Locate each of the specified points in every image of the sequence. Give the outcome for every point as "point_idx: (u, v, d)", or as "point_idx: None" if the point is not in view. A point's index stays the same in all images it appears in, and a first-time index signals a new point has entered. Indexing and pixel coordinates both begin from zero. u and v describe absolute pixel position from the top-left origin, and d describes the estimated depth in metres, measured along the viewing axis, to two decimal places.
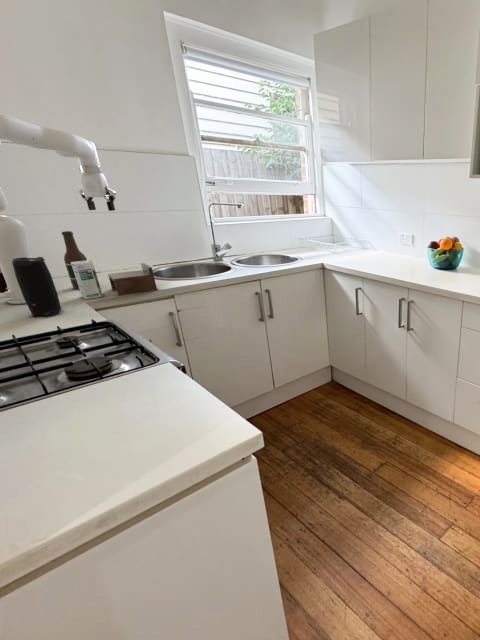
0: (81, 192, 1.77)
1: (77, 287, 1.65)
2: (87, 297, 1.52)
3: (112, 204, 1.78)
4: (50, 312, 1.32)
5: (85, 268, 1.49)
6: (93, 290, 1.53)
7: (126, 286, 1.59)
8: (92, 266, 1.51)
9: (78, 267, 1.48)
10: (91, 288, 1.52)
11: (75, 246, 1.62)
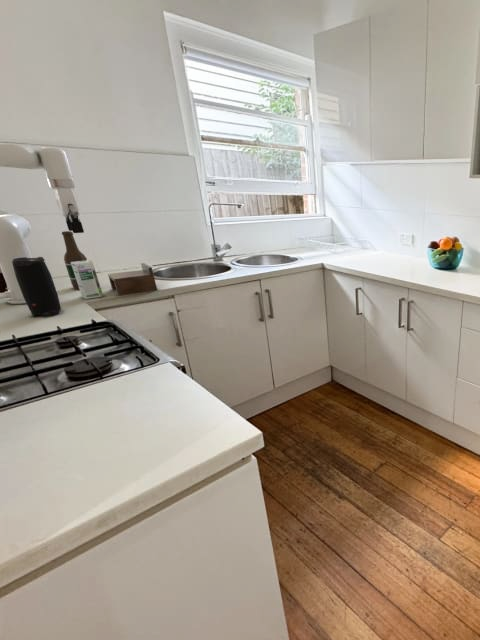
0: None
1: (77, 287, 1.65)
2: (87, 297, 1.52)
3: (77, 225, 1.44)
4: (50, 312, 1.32)
5: (85, 268, 1.49)
6: (93, 290, 1.53)
7: (126, 286, 1.59)
8: (92, 266, 1.51)
9: (78, 267, 1.48)
10: (91, 288, 1.52)
11: (75, 246, 1.62)
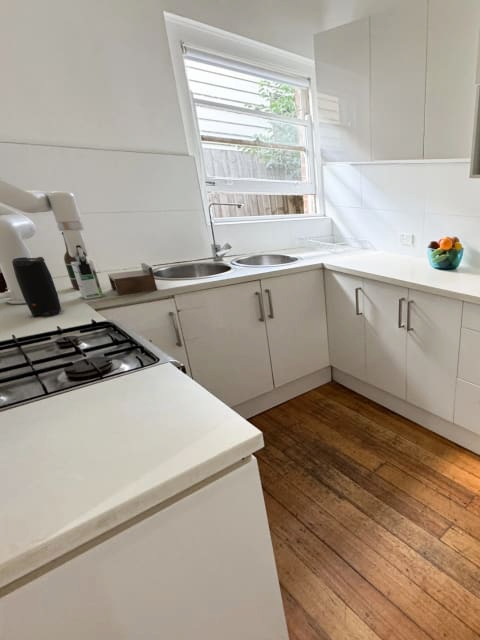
0: None
1: (77, 287, 1.65)
2: (87, 297, 1.52)
3: (85, 267, 1.48)
4: (50, 312, 1.32)
5: None
6: (93, 290, 1.53)
7: (126, 286, 1.59)
8: (92, 266, 1.51)
9: (78, 267, 1.48)
10: (91, 288, 1.52)
11: None
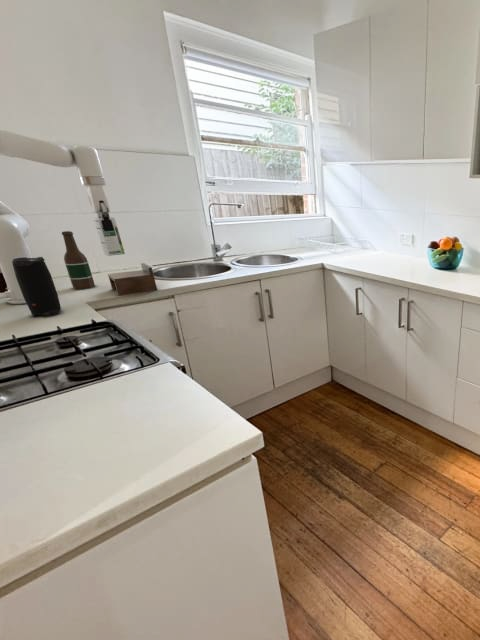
0: None
1: (77, 287, 1.65)
2: (110, 254, 1.54)
3: (107, 223, 1.50)
4: (50, 312, 1.32)
5: None
6: (115, 247, 1.55)
7: (126, 286, 1.59)
8: (114, 223, 1.53)
9: (101, 223, 1.50)
10: (114, 245, 1.55)
11: (75, 246, 1.62)
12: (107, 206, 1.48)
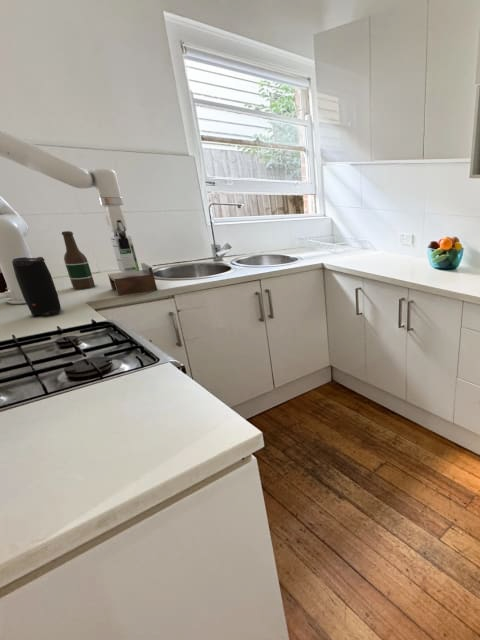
0: None
1: (77, 287, 1.65)
2: (125, 270, 1.60)
3: (124, 242, 1.56)
4: (50, 312, 1.32)
5: None
6: (130, 264, 1.61)
7: (126, 286, 1.59)
8: (130, 241, 1.59)
9: (117, 241, 1.56)
10: (129, 262, 1.60)
11: (75, 246, 1.62)
12: (124, 225, 1.54)
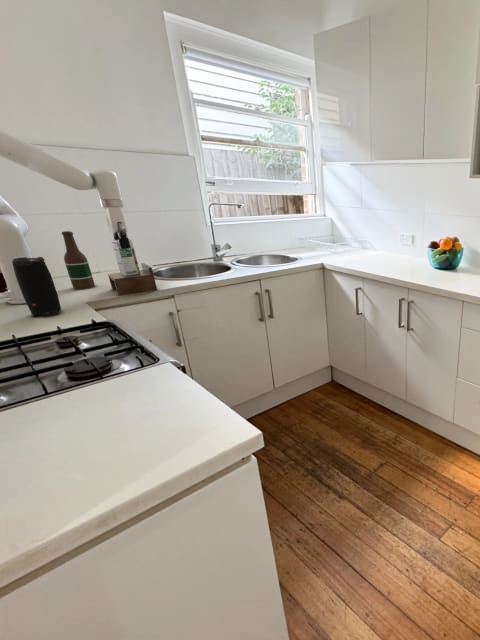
0: None
1: (77, 287, 1.65)
2: (126, 274, 1.61)
3: (124, 241, 1.55)
4: (50, 312, 1.32)
5: None
6: (131, 267, 1.62)
7: (126, 286, 1.59)
8: (131, 244, 1.60)
9: (118, 245, 1.56)
10: (130, 265, 1.61)
11: (75, 246, 1.62)
12: (125, 227, 1.55)
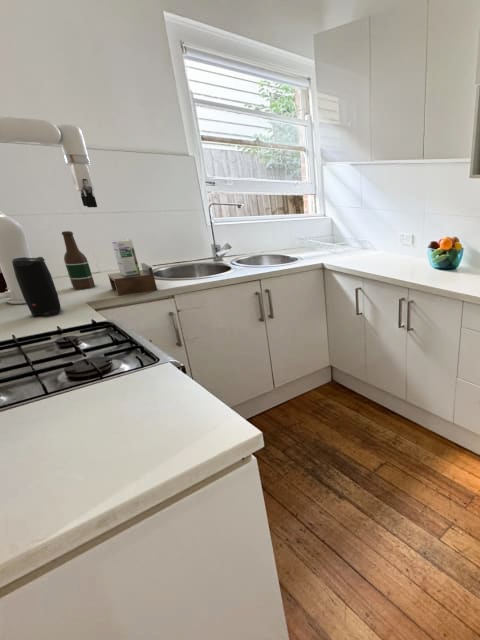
0: None
1: (77, 287, 1.65)
2: (126, 274, 1.61)
3: (90, 200, 1.52)
4: (50, 312, 1.32)
5: (124, 246, 1.58)
6: (131, 267, 1.62)
7: (126, 286, 1.59)
8: (131, 244, 1.60)
9: (118, 245, 1.56)
10: (130, 265, 1.61)
11: (75, 246, 1.62)
12: (91, 185, 1.51)
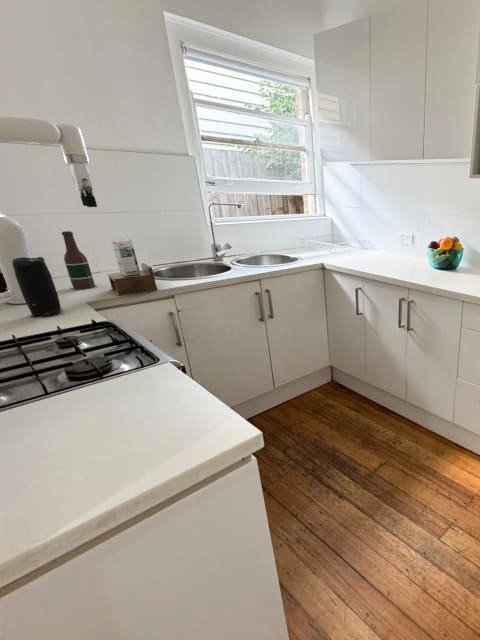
0: None
1: (77, 287, 1.65)
2: (126, 274, 1.61)
3: (90, 199, 1.52)
4: (50, 312, 1.32)
5: (124, 246, 1.58)
6: (131, 267, 1.62)
7: (126, 286, 1.59)
8: (131, 244, 1.60)
9: (118, 245, 1.56)
10: (130, 265, 1.61)
11: (75, 246, 1.62)
12: (90, 184, 1.51)
